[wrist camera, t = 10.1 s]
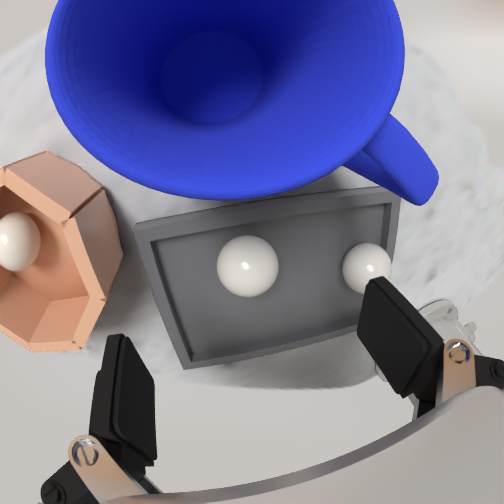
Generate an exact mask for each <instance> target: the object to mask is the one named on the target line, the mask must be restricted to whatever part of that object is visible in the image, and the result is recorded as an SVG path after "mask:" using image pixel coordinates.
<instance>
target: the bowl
mask: <svg viewBox="0 0 504 504" xmlns="http://www.w3.org/2000/svg"><path fill="white" fill-rule="evenodd" d="M101 187H102V185H100V184H98V183H97V182H96V181H95V180H94V179H93V178H92V177H91V176H90V175H89V174H88V173H87V172H86V171H85V170H83V169H82V168H81V167H79V166H78V165H76V164H74V163H72V162H71V161H68V160H66V159H63V158H60V157H57V156H56V155H54V154H53V153H51V152H50V151H49V152H46V151H45V152H42V153H39V154H36V155H33V156H30V157H28V158H25V159H22V160H19V161H17V162H14V163H12V164H9V165H7V166H4V167H2V168H0V220H1V219H2V218H3V217H4V216H5V215H7V214H9V213H12V212H22V213H25V214H27V215H29V216H30V217H31V218H32V219H33V220H34V221H35V222H36V224H37V226H38V228H39V231H40V235H41V248H40V252H39V255H38V257H37V259H36V260H35V262H34V263H33V264H32V265H31V266H30V267H29V268H27V269H25V270H23V271H18V272H14V271H10V270H7V269H5V268H4V267H3V266H1V265H0V331H1V332H2V333H3V334H5V335H6V336H8V337H9V338H11V339H12V340H14V341H15V342H17V343H18V344H20V345H21V346H23V347H24V348H26V349H28V350H29V351H31V349H32V351H33V352H57V351H75V350H81V348H83V349H84V346H85V344H86V342H87V340H88V338H89V336H90V333H91V331H92V329H93V327H94V325H95V323H96V321H97V319H98V317H99V315H100V313H101V311H102V309H103V307H104V305H105V303H106V300H107V298H108V295H109V292H110V290H111V287H112V284H113V282H114V279H115V277H116V274H117V272H118V269H119V267H120V265H121V262H122V260H123V258H122V257H123V251H122V248H121V245H120V238H119V229H118V225H117V221H116V217H115V214H114V212H113V209H112V207H111V204H110V202H109V200H108V198H107V197H106V193H105V190H102V189H101Z"/></svg>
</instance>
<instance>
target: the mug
mask: <svg viewBox="0 0 504 504" xmlns="http://www.w3.org/2000/svg"><path fill="white" fill-rule="evenodd" d="M404 58H405V46H404V37H403V30H402V26H401V22H400V18H399V14H398V11H397V9H396V6H395V3H394V1H393V0H59V1H58V3H57V5H56V7H55V10H54V12H53V15H52V18H51V21H50V25H49V28H48V33H47V40H46V47H45V67H46V75H47V81H48V85H49V89H50V93H51V97H52V99H53V102H54V104H55V107H56V109H57V111H58V113H59V115H60V117H61V118H62V120H63V122H64V124H65V125H66V127H67V128H68V129H69V131H70V132H71V134H72V135H73V136H74V137H75V138H76V140H77V141H78V142H79V143H80V144H81V145H82V146H83V147H84V148H85V149H86V150H87V151H88V152H89V153H90V154H91V155H92V156H94V157H95V158H96V159H97V160H99V161H100V162H101V163H103V164H104V165H105V166H107V167H108V168H110V169H111V170H113V171H115V172H116V173H118V174H120V175H122V176H124V177H125V178H127V179H129V180H131V181H134V182H136V183H138V184H141V185H143V186H146V187H148V188H151V189H154V190H157V191H161V192H164V193H167V194H172V195H177V196H182V197H187V198H194V199H203V200H244V199H253V198H260V197H267V196H271V195H275V194H279V193H283V192H287V191H290V190H293V189H296V188H299V187H302V186H304V185H307V184H309V183H311V182H314V181H316V180H318V179H320V178H322V177H324V176H326V175H327V174H329V173H331V172H333V171H334V170H336V169H337V168H339V167H340V166H344V167H346V168H348V169H350V170H352V171H354V172H356V173H357V174H359V175H361V176H363V177H365V178H367V179H369V180H370V181H372V182H374V183H376V184H378V185H380V186H382V187H384V188H385V189H387V190H389V191H391V192H393V193H394V194H396V195H398V196H400V197H401V198H403V199H405V200H407V201H408V202H410V203H412V204H414V205H417V206H421V205H423V204H425V203H426V202H427V201H428V200H429V199H430V197H431V196H432V194H433V193H434V191H435V189H436V187H437V185H438V180H439V175H438V171H437V169H436V168H435V166H434V164H433V163H432V161H431V160H430V158H429V157H428V155H427V154H426V152H425V151H424V150H423V148H422V147H421V146H420V145H419V143H418V142H417V141H416V140H415V138H414V137H413V136H412V135H411V134H410V132H409V131H408V130H407V129H406V128H405V127H404V126H403V125H402V124H401V123H400V122H399V121H398V120H397V119H396V118H394V117H393V116H392V115H391V114H390V111H391V109H392V107H393V105H394V103H395V100H396V98H397V95H398V92H399V90H400V85H401V81H402V76H403V71H404Z"/></svg>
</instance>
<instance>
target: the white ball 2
mask: <svg viewBox="0 0 504 504" xmlns="http://www.w3.org/2000/svg"><path fill="white" fill-rule="evenodd" d="M278 271H279V261H278V257H277V254H276V252H275V250H274V249H273V247H272V246H271V245H270V244H269V243H268V242H267V241H265V240H264V239H262V238H260V237H257V236H254V235H242V236H238V237H235V238H233V239H232V240H230V241H229V242H227V243H226V244H225V245H224V246H223V248H222V249H221V251H220V253H219V255H218V259H217V273H218V277H219V279H220V281H221V283H222V284H223V286H224V287H225V288H226V289H227V290H228V291H230V292H231V293H233V294H235V295H237V296H241V297H255V296H258V295H261V294H263V293H264V292H266V291H267V290H268V289H269V288H270V287H271V286H272V285H273V284H274V282H275V280H276V278H277V275H278Z"/></svg>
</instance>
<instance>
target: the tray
mask: <svg viewBox="0 0 504 504" xmlns="http://www.w3.org/2000/svg"><path fill="white" fill-rule="evenodd" d="M400 202H401V197H400V196H398V195H396V194H394V193H393V192H391V191H389V190H387V189H385V188H384V187H382V186H377V187H366V188H356V189H346V190H337V191H328V192H320V193H312V194H304V195H296V196H289V197H282V198H275V199H268V200H261V201H255V202H248V203H242V204H236V205H230V206H224V207H218V208H212V209H206V210H201V211H195V212H190V213H184V214H179V215H174V216H169V217H164V218H159V219H154V220H149V221H144V222H140V223H136V225H135V227H134V229H133V234H134V238H135V241H136V244H137V248H138V251H139V254H140V257H141V260H142V264H143V267H144V270H145V273H146V276H147V279H148V282H149V284H150V287H151V290H152V293H153V296H154V298H155V301H156V304H157V307H158V309H159V312H160V314H161V317H162V320H163V322H164V325H165V327H166V330H167V332H168V334H169V337H170V339H171V342H172V344H173V346H174V349H175V351H176V353H177V356H178V358H179V360H180V362H181V365H182V367H183V369H184V370H186V369H193V368H200V367H206V366H213V365H218V364H224V363H230V362H235V361H240V360H245V359H250V358H255V357H260V356H264V355H269V354H273V353H278V352H282V351H286V350H290V349H294V348H298V347H302V346H306V345H309V344H313V343H317V342H320V341H324V340H327V339H331V338H334V337H338V336H341V335H344V334H347V333H351V332H354V331H357V326H358V321H359V317H360V312H361V307H362V302H363V297H364V294H360V293H357V292H355V291H354V290H352V289H351V288H350V287H349V286H348V285H347V283H346V282H345V280H344V277H343V274H342V264H343V260H344V258H345V256H346V254H347V253H348V251H349V250H350V249H351V248H353V247H354V246H356V245H358V244H361V243H374V244H376V245H378V246H380V247H382V248H383V249H384V250H385V251H386V252H387V254H388V256H389V258H390V260H391V265H392V261H393V255H394V249H395V242H396V235H397V228H398V220H399V212H400ZM242 235H254V236H257V237H260V238H262V239H264V240H265V241H267V242H268V243H269V244H270V245H271V246H272V247H273V249H274V250H275V252H276V254H277V257H278V261H279V271H278V275H277V278H276V280H275V282H274V284H273V285H272V286H271V287H270V288H269V289H268V290H267V291H266V292H264V293H263V294H261V295H258V296H255V297H241V296H237V295H235V294H233V293H231V292H230V291H228V290H227V289H226V288H225V287H224V286H223V284H222V283H221V281H220V279H219V277H218V273H217V259H218V255H219V253H220V251H221V249H222V248H223V246H224V245H225V244H226V243H227V242H229V241H230V240H232V239H233V238H235V237H238V236H242Z"/></svg>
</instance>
